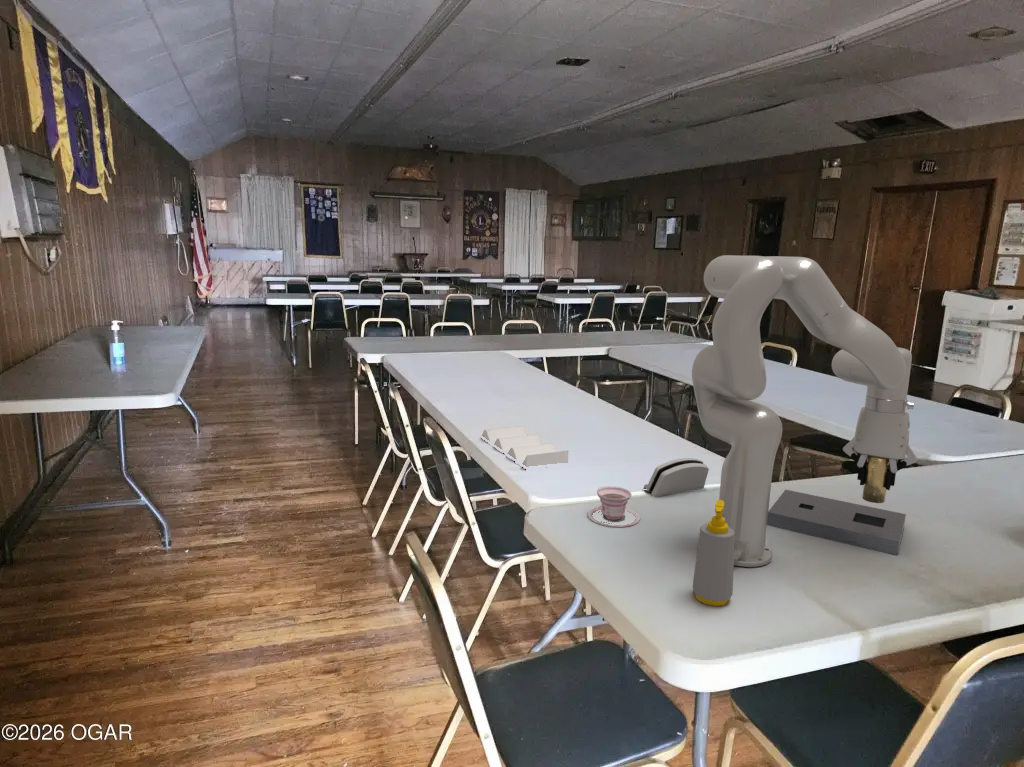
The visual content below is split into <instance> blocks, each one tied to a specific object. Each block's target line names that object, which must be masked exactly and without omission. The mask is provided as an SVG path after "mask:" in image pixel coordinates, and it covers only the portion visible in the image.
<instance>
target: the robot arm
mask: <svg viewBox="0 0 1024 767" xmlns="http://www.w3.org/2000/svg"><path fill="white" fill-rule="evenodd" d="M703 284H704V286H705V289H706V290H707V291H708V293H709V294H711V295H712V296H714V297H715V298H718V299H723V300H722V302H721V303H720V305H719V306H718V308H717V311H716V313H715V315H714V317H713V321H712V326H711V327H712V328H711V334H712V341H713V345H708V346H706V347H704V348H703V349H701V350H700V351H699V352H698V353H697V354H696V357H695V358H694V360H693V363H692V367H691V380H692V385H693V392H694V397H695V401H696V406H697V412H698V417H699V420H700V422H701V423H700V424H701V425H702V428H703V429H704V431H705V432H706V433H708V434H709V435H710V436H711V437H713V438H716V439H718V440H720V441H722V442H725V443H728V444H729V445H731V448H730V451H729V453H727V455H726V457H725V458H724V461H723V463H722V467H721V471H720V486H719V496H718V500H723V501H724V511H723V514H722V517H724V518H725V523H727V524H728V527H730V528H731V529H733V530H734V532H735V541H734V566H737V567H745V568H746V567H747V568H755V567H763V566H765V565H768V564H769V563H771V561H772V559H773V552H772V550H771V548H769V547H768V546H767V545H766V537H767V527H768V525H767V519H768V511H769V510H770V509H769V507H770V500H771V498H770V497H771V489H772V479H773V478H772V477H773V470H774V464H775V459H776V454H777V453H778V452H777V451H778V448H779V447H780V443H781V439H782V437H783V423H782V421H781V418H780V417H779V415H778V413H776V412H775V411H774V410H773V409H772V408H770V407H768V406H766V405H764V404H761V403H759V402H756V401H753V400H756V399H758V398H760V397H761V395H762V394H763V393H764V392H765V390H766V386H767V372H766V365H765V360H764V352H763V346H762V341H761V330H760V329H761V328H760V327H761V321H762V317H763V314H764V312H765V311H766V310H767V308H768V306H769V304H770V303H771V301H772V300H773V299H775V300H782V301H785V302H786V303H787V304H788V305H789V307H790V308H791V310H792V311H793V312H794V314H795V315H796V316H797V317H798V319H799V320H800V321H801V322H802V324H803V325H804V327H805V328H806V330H807V331H808V332H809V333H810V334H811V335H812V336H814V337H816V338H817V339H819V340H821V341H823V342H824V343H826V344H829V345H831V346H834V347H836V348H838V349H840V350H838V352H836V353H835V354H834V355H833V358H832V361H831V369H832V372H833V374H834V376H836V377H837V378H839V379H840V380H843V381H845V382H849V383H852V384H857V385H860V386H865V387H867V388H866V397H865V403H864V406H862V407H861V408H860V411H859V415H858V419H857V422H856V426H855V427H856V428H855V432H854V436H853V438H852V439H851V440H850V441H849V442H848V443H846V444H845V446H843V447H842V450H843V452H844V453H845V454H846V455H848V456H849V457H850V458H851V459H852V461H854V462H855V464H856V466H857V467H858V470H857V481H860V482H859V485H860V486H864V480H865V472H866V463H867V456H868V455H869V456H875V457H882V458H888V459H889V461H890V465H889V471H888V475H887V483H886V491H890V490H891V486H892V487H894V486H895V484H896V475H897V473H898V472H899V471H900V470H902V469H904V468H905V467H907V466H910V465H913V464H915V463H916V462H917V461H918V457H917V455H915V453H914V451H913V450H912V448H911V447H910V445H909V439H910V427H911V426H910V425H911V424H910V414H909V412H907V411H908V410H914V405H915V402H910V401H909V400H908V391H909V390H908V389H909V385H910V384H909V383H910V376H911V369H912V360H913V359H912V358H913V356H912V355H913V354H912V351H910V350H909V349H907V348H903V347H899V346H897V345H896V344H895V342H894V341H893V340H892V338H891V337H890V336H889V335H888V334H886V332H884V331H883V330H882V329H881V328H879V327H878V326H876V324H873V322H871V321H869V320H868V319H867V318H865V317H864V316H862V315H861V314H859V313H858V312H857V311H855V310H854V309H852V308H851V307H850V306H849V305H848V304H847V302H846V301H845V300H844V299H843V297H842V295H841V294H840V292H839V291H838V290H837V288H836V287H835V285H834V284H833V283H832V281H831V280H830V278H829V276H828V275H827V274H826V273H825V271H824V269H823V268H822V267H821V266H820V264H819V263H818V262H817V261H815V260H813V259H812V258H809V257H804V256H785V255H784V256H782V255H781V256H775V255H773V256H770V255H769V256H762V255H731V254H728V255H726V254H725V255H724V254H723V255H719V256H717V257H716V258H714V259H712V260H711V261H710V262H709V263H708V264H707V266H706V268H705V270H704V273H703ZM905 457H906V458H905ZM898 460H900V461H899V462H898Z"/></svg>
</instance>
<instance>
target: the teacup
mask: <svg viewBox="0 0 1024 767" xmlns="http://www.w3.org/2000/svg"><path fill="white" fill-rule="evenodd" d="M596 495H597V496H598V498H599V500H600V503H601V505H600V506H595V507H592V508H590V509H589V510H588V511H587V518H588V519H589V520H590V521H592V522H593V523H595V524H598V525H601V526H604V527H610V528H627V527H631V526H635V525H637V524H638V523H639V522H640V521H641V517H640V514H638V513H637V511H635V510H633V509H631V508H628V507H626V506H627V504H628V501H629V500H630V499H631V498H632V492H630V490H628V489H627V488H624V487H620V486H613V485H604V486H600V487H599V488H597V490H596ZM598 510H601V512H602V514H604V516H605V519H607V518H608V519H607V520H609V521H610V519H612V520H611V521H616V520H615V519H618V520H619V518H621V517H623V515H624V514H625V510H626V511H627V512H629V513H632V514H633V516H635V518H636V519H635V520H634V522H632V523H630V524H629V523H628V524H627V525H608V524H610V523H608V524H604V523H605V522H603V523H602V521H601V522H599V521H597V520H595V519H594V518H593V516H592V515H593V513H595V512H596V511H598ZM599 512H600V511H599ZM599 512H598V513H599ZM602 514H601V515H602ZM609 521H608V522H609ZM606 523H607V522H606ZM611 524H612V523H611Z"/></svg>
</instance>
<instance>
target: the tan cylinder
mask: <svg viewBox="0 0 1024 767" xmlns="http://www.w3.org/2000/svg"><path fill="white" fill-rule="evenodd" d="M865 463H866V472H865V480H864V485H863V488H862V495H861V496H862V497H861V498H862V499H863V500H864V501H866V502H869V503H871V504H872V503H873V504H884V503H885V502H886V495H887V489H886V483H887V475H888V471H889V469H890V461H889V459H888V458H882V457H875V456H869V455H868V456H867V458H866V462H865Z"/></svg>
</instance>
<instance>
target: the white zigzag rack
mask: <svg viewBox="0 0 1024 767" xmlns="http://www.w3.org/2000/svg"><path fill="white" fill-rule="evenodd" d="M481 436H483V437H485V438H486V439H487V440H489V441H493V440H496V441H495V443H494V445H496V446H497V447H499V448H500V449H502V450H507V449H510V450H509V451H508V453H507V454H509V455H510V456H512V457H513V458H514V459H516V460H520V459H525V460H524V461H523V463H522V464H523V465H525V466H526V467H529V466H538V465H547V464H557V463H568V464H569V450H561V451H557V450H556V447H555V445H554V443H553V442H552V443H551V442H550V443H544V444H543V443H542V442H541V440H540V437H539V435H538V434H537V433H535V434H527V432H526V429H525V427H524V426H523V425H522V426H512V427H511V426H510V427H501V428H500V427H499V428H490V429H484V430H483V431H482V434H481Z"/></svg>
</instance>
